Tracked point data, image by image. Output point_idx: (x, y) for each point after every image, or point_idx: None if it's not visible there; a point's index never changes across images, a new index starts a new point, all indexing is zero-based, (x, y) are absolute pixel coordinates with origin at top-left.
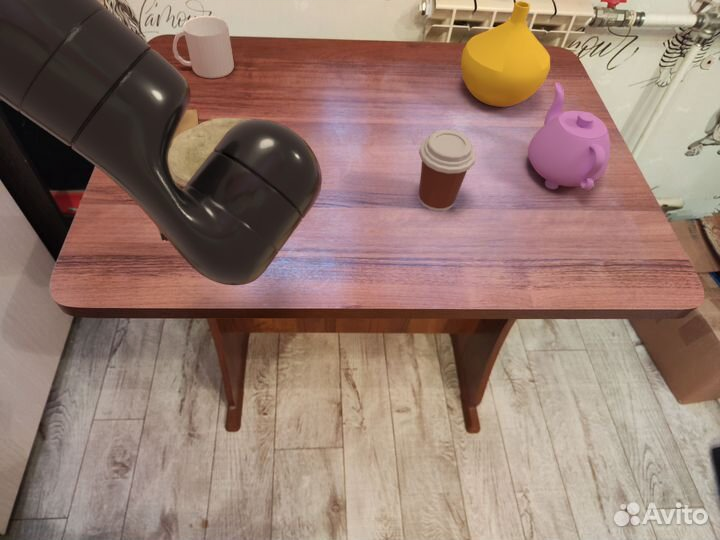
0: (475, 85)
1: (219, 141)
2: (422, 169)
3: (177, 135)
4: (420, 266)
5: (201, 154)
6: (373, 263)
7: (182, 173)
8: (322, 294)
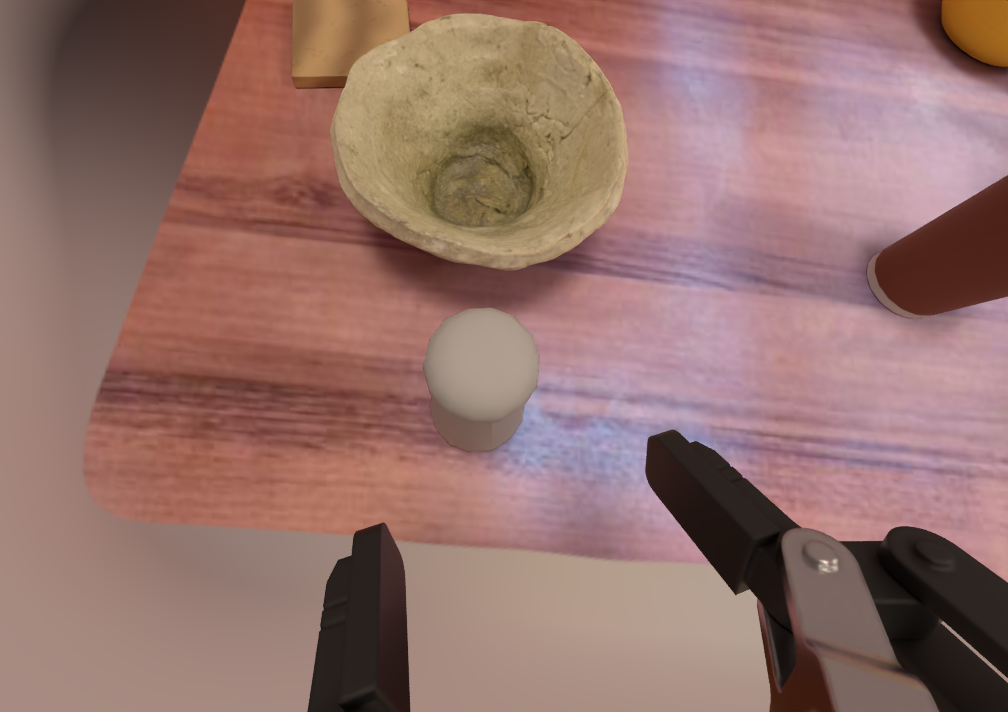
0: (1006, 3)
1: (465, 87)
2: (968, 234)
3: None
4: (889, 468)
5: (421, 120)
6: (792, 451)
7: (374, 181)
8: None
